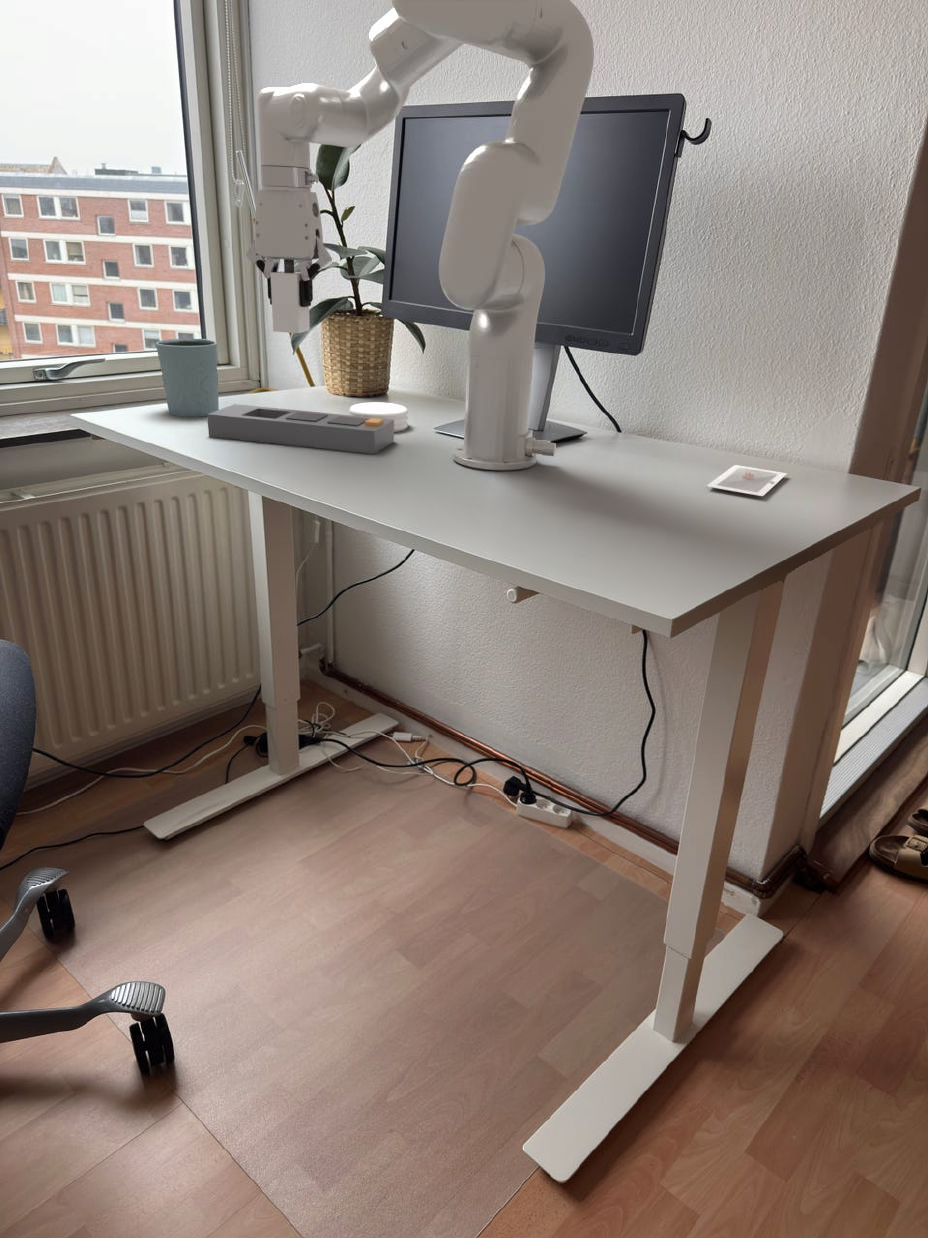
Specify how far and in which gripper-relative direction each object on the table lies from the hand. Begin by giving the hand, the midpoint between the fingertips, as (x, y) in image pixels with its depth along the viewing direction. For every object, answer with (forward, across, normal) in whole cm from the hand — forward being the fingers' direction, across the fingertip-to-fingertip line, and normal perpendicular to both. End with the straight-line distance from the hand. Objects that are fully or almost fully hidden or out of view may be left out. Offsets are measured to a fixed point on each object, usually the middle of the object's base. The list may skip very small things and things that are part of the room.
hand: (290, 303), depth 144 cm
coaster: (+20, -14, -3) cm, 25 cm away
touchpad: (+20, -75, +10) cm, 78 cm away
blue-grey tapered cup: (+20, +20, -1) cm, 28 cm away
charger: (+4, 0, 0) cm, 4 cm away
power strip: (+19, -6, +11) cm, 23 cm away
